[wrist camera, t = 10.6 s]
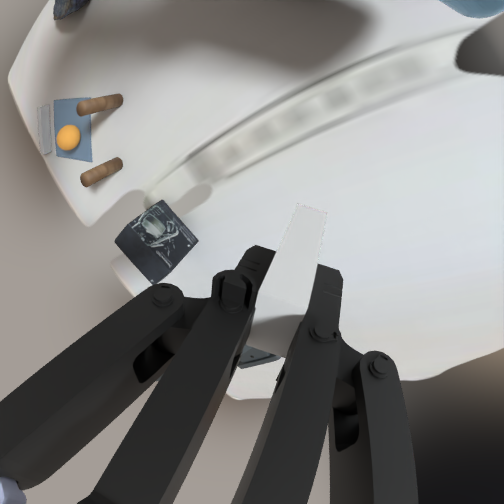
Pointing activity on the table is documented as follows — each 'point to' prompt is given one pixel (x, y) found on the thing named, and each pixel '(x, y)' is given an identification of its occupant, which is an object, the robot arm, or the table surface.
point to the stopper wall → (44, 129)
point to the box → (156, 242)
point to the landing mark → (68, 116)
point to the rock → (66, 7)
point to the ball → (68, 137)
